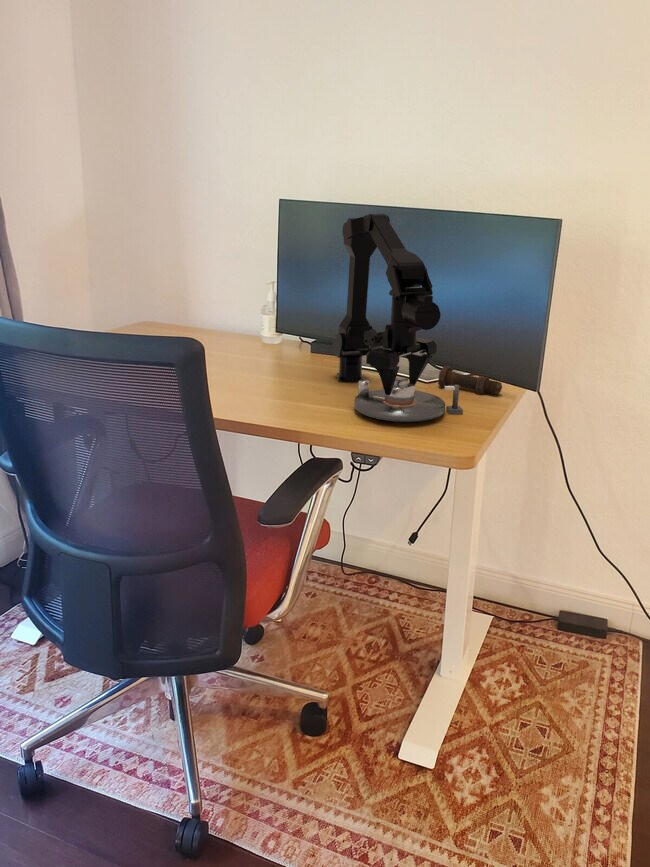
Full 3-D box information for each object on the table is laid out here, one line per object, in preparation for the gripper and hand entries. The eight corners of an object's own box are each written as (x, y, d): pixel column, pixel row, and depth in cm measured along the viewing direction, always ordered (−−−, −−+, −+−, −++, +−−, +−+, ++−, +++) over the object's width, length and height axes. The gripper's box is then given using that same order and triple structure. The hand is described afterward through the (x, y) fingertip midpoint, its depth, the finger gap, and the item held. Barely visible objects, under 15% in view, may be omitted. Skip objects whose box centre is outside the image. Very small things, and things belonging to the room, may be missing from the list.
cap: (382, 396, 169) (384, 375, 167) (411, 396, 169) (412, 375, 167) (387, 405, 163) (388, 383, 161) (416, 405, 163) (417, 383, 161)
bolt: (497, 404, 180) (439, 391, 188) (504, 390, 183) (447, 378, 190) (495, 387, 176) (436, 374, 183) (503, 372, 179) (445, 361, 186)
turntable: (458, 403, 170) (460, 384, 168) (422, 428, 154) (424, 407, 152) (378, 388, 179) (379, 370, 178) (336, 410, 163) (337, 391, 162)
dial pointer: (441, 410, 169) (443, 383, 167) (459, 410, 169) (461, 383, 167) (444, 414, 166) (446, 387, 164) (462, 414, 167) (465, 387, 164)
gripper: (398, 308, 171) (395, 375, 177) (347, 320, 158) (344, 391, 163) (440, 316, 165) (435, 384, 170) (390, 328, 151) (386, 402, 157)
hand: (400, 390), depth 165 cm, fingers open, 9 cm apart
